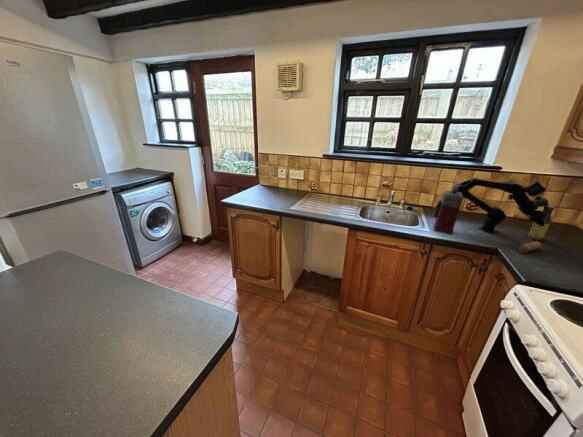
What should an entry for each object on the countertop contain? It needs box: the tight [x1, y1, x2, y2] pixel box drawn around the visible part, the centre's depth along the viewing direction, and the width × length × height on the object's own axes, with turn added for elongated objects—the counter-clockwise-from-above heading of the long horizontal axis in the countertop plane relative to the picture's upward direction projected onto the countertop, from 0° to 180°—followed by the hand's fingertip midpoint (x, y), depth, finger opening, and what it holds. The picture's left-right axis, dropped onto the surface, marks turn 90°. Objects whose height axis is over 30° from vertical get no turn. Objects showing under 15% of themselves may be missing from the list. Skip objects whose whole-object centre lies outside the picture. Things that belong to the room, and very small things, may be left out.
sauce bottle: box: [527, 205, 555, 242], centre depth 136 cm, size 7×6×20 cm
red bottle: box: [432, 184, 464, 235], centre depth 142 cm, size 9×11×28 cm
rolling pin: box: [517, 241, 542, 254], centre depth 127 cm, size 16×4×4 cm, turn 111°
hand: (539, 222), depth 137 cm, fingers open, 9 cm apart
